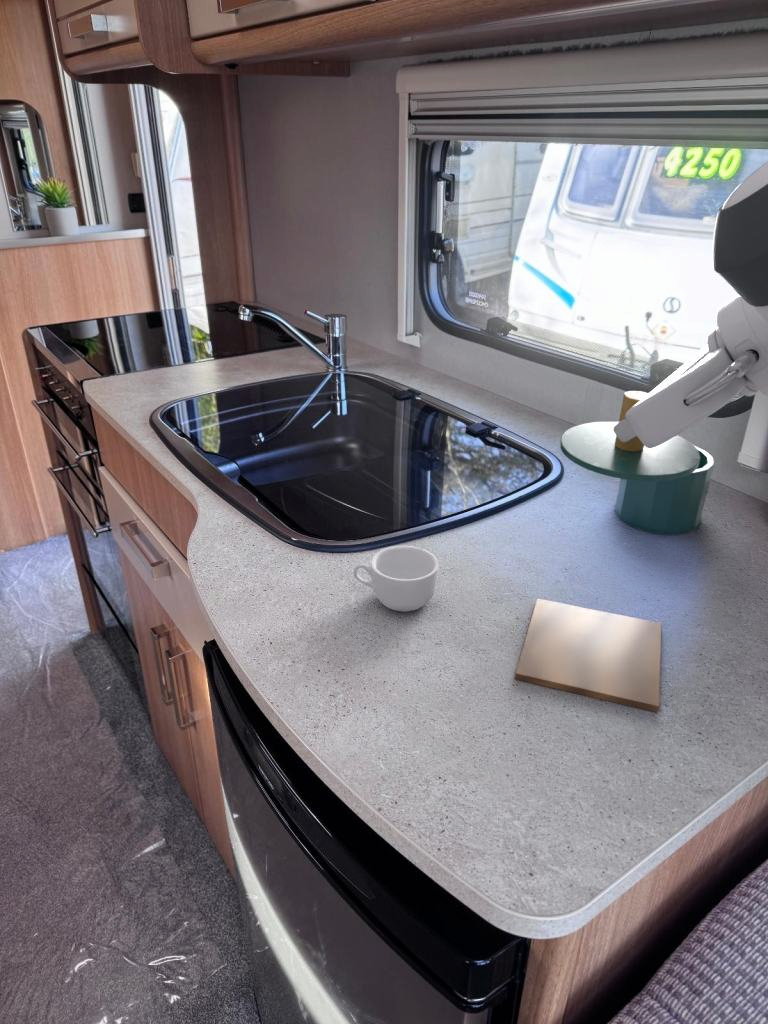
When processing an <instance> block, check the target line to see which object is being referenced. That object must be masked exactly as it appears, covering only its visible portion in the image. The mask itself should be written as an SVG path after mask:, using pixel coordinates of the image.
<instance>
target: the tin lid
mask: <svg viewBox="0 0 768 1024" xmlns="http://www.w3.org/2000/svg"><path fill="white" fill-rule="evenodd" d="M649 393H650V392H646V391H641V390H628V391H625V392H624V393H623V397H622V401H621V402H622V404H621V408H620V414H619V419H618V421H593V422H592V421H591V422H585V423H581V424H578V425H575V426H572V427H570V428H568V429H567V430H565V432H563V433H562V435H561V436H560V442H559V448H560V450H561V452H562V454H563V455H564V456H565V458H567V459H568V460H570V461H571V462H572V463H574V464H575V465H577V466H579V467H581V468H583V469H586V470H588V471H591V472H593V473H597V474H600V475H603V476H607V477H610V478H611V477H612V478H616V479H620V478H621V479H627V480H636V481H666V480H673V479H678V478H681V477H685V476H687V475H689V474H691V473H693V472H694V471H695V470H696V469H697V468H698V466H699V462H700V453H699V451H698V450H697V448H696V447H697V446H696V445H694V444H692V443H691V442H690V441H689V440H687V439H686V438H683V437H682V436H679V434H678V435H676V436H675V437H673V438H671V439H669V440H668V441H666V442H664V443H663V444H661V445H658V446H656V447H653V448H647V447H645V446H644V445H643V443H642V442H641V441H640V439H639V438H638V437H637V436H636V437H634V438H632V439H631V440H629V441H627V442H621V441H620V440H619V438H618V437H617V435H616V434H615V433H614V430H613V428H614V426H615V425H617V424H618V423H619V422H620V421H622V420H623V419H625V415H626V413H627V411H628V410H629V409H631V408H632V407H633V406H634V405H635V404H636V403H638V402H639V401H640V400H641V399H642V398H644V397H645V396H646V395H647V394H649ZM695 446H696V447H695Z"/></svg>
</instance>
